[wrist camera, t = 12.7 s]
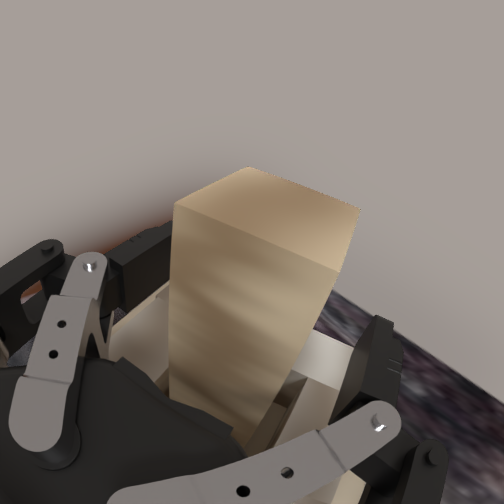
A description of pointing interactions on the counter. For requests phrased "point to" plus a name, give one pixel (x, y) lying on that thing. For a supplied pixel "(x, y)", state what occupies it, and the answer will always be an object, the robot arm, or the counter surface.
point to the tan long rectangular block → (248, 289)
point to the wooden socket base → (283, 406)
